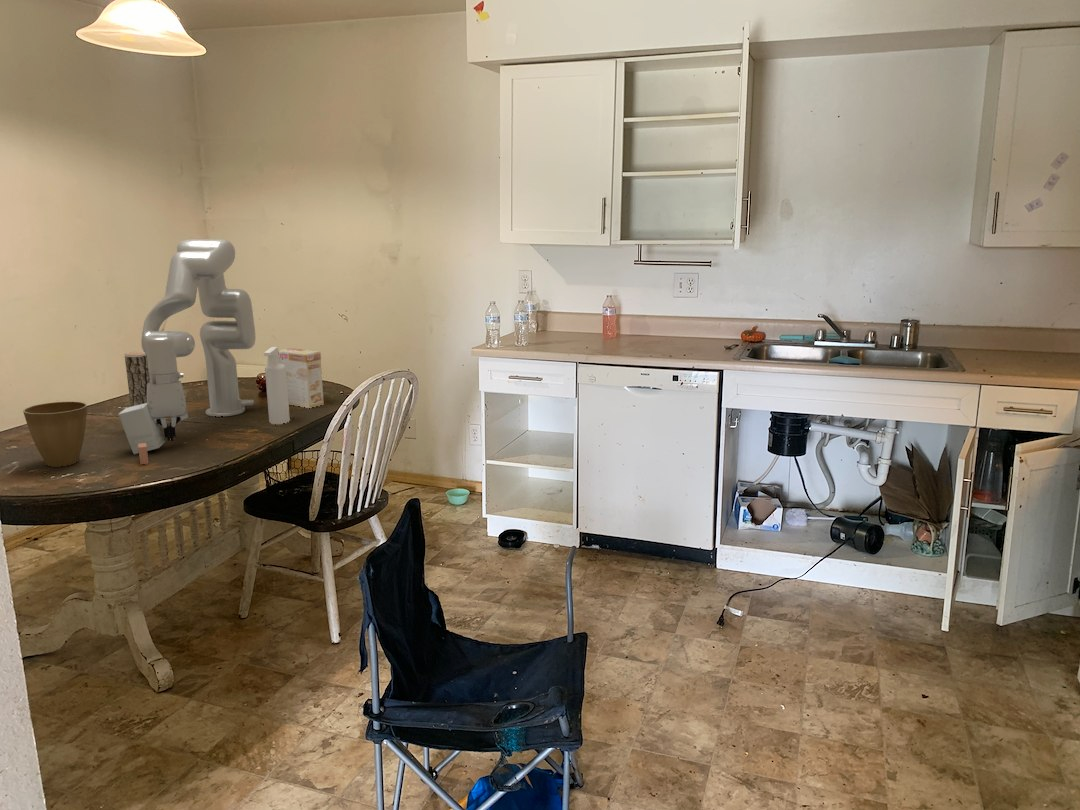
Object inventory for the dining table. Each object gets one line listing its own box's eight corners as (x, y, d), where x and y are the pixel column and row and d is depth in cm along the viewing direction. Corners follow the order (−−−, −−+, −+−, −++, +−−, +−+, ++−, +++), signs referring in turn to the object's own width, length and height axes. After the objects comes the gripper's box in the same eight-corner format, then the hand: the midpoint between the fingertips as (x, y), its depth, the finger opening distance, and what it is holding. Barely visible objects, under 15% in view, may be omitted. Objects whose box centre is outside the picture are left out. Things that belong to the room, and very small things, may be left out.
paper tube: (134, 435, 248) (124, 356, 242) (133, 430, 254) (124, 352, 248) (158, 433, 251) (149, 354, 245) (157, 428, 257) (148, 350, 251)
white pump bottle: (298, 416, 271) (290, 343, 265) (284, 426, 260) (275, 351, 253) (279, 416, 272) (270, 343, 265) (264, 426, 260) (254, 351, 254)
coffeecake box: (324, 405, 288) (321, 351, 283) (309, 409, 282) (305, 354, 277) (295, 399, 295) (292, 347, 291) (280, 403, 290) (276, 350, 285)
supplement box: (166, 441, 237) (151, 401, 234) (158, 448, 230) (143, 407, 227) (141, 447, 236) (126, 407, 233) (132, 455, 229) (116, 413, 226)
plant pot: (87, 469, 217) (79, 411, 213) (24, 473, 213) (15, 415, 209) (99, 453, 231) (92, 399, 227) (41, 457, 227) (32, 402, 223)
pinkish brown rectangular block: (146, 436, 247) (144, 420, 246) (148, 464, 221) (146, 446, 220) (139, 437, 246) (137, 421, 245) (140, 465, 220) (138, 447, 219)
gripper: (190, 373, 238) (196, 433, 243) (134, 378, 232) (141, 439, 236) (193, 378, 232) (199, 439, 236) (135, 383, 225) (142, 446, 229)
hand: (170, 439), depth 236 cm, fingers closed
